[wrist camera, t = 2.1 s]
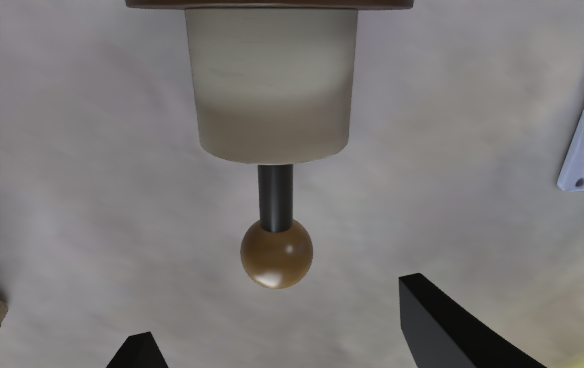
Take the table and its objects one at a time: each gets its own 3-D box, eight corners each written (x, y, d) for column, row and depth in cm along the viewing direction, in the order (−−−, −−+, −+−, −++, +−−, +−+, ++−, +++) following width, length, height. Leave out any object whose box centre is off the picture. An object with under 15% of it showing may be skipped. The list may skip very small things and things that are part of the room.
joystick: (345, 223, 18) (405, 350, 11) (193, 233, 17) (159, 376, 10) (366, -37, 13) (498, -95, 6) (155, -41, 12) (41, -113, 5)
